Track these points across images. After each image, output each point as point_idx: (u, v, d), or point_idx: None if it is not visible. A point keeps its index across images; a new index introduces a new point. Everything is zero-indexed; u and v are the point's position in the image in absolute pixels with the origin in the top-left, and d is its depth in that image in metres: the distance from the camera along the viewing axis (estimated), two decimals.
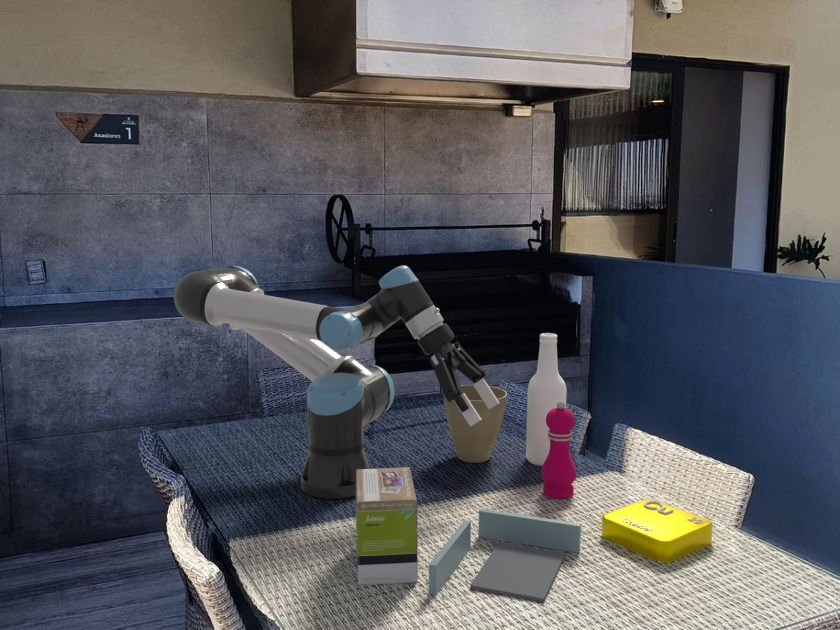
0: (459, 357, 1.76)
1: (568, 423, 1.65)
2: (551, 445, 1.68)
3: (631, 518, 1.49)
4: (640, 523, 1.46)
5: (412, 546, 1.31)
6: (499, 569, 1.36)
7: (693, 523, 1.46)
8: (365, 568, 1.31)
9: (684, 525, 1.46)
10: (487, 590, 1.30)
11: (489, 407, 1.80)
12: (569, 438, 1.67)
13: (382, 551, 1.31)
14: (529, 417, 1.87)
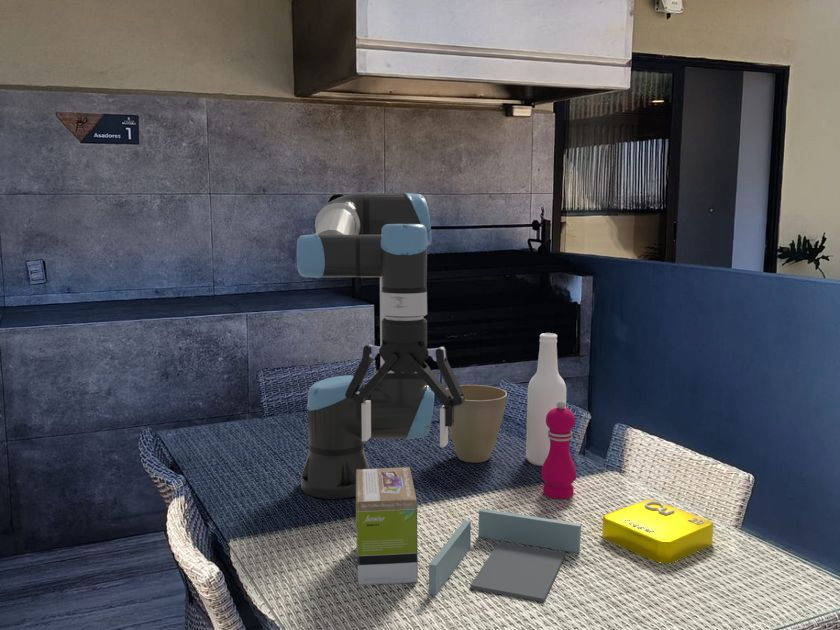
0: (413, 367, 1.34)
1: (568, 423, 1.65)
2: (551, 445, 1.68)
3: (632, 519, 1.48)
4: (641, 524, 1.46)
5: (412, 546, 1.31)
6: (499, 569, 1.36)
7: (694, 524, 1.46)
8: (365, 568, 1.31)
9: (684, 526, 1.45)
10: (487, 590, 1.30)
11: None
12: (569, 438, 1.67)
13: (382, 551, 1.31)
14: (529, 417, 1.87)
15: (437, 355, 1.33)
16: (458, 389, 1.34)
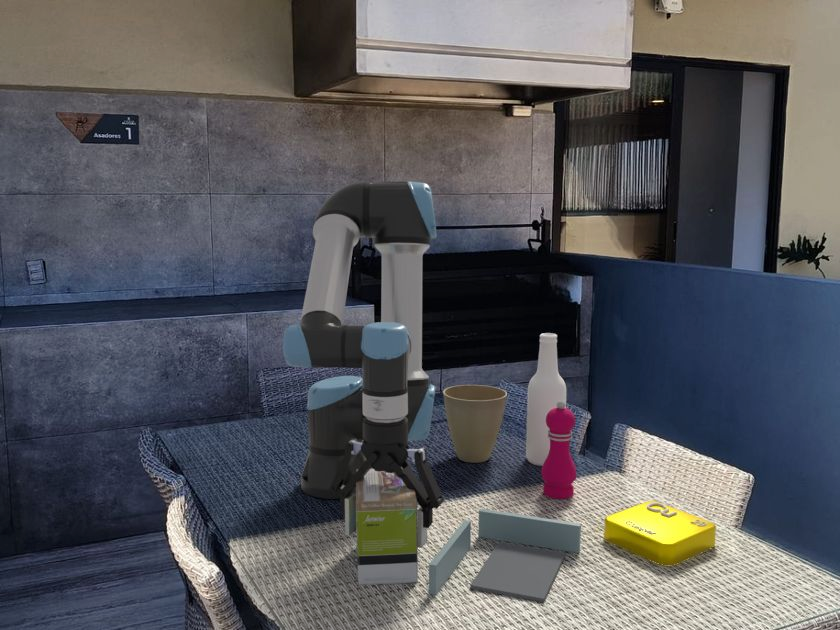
0: None
1: (568, 423, 1.65)
2: (551, 445, 1.68)
3: (634, 520, 1.48)
4: (643, 525, 1.45)
5: (412, 546, 1.31)
6: (499, 569, 1.36)
7: (696, 526, 1.45)
8: (365, 568, 1.31)
9: (687, 528, 1.44)
10: (487, 590, 1.30)
11: None
12: (569, 438, 1.67)
13: (382, 551, 1.31)
14: (529, 417, 1.87)
15: (416, 457, 1.33)
16: (436, 492, 1.33)
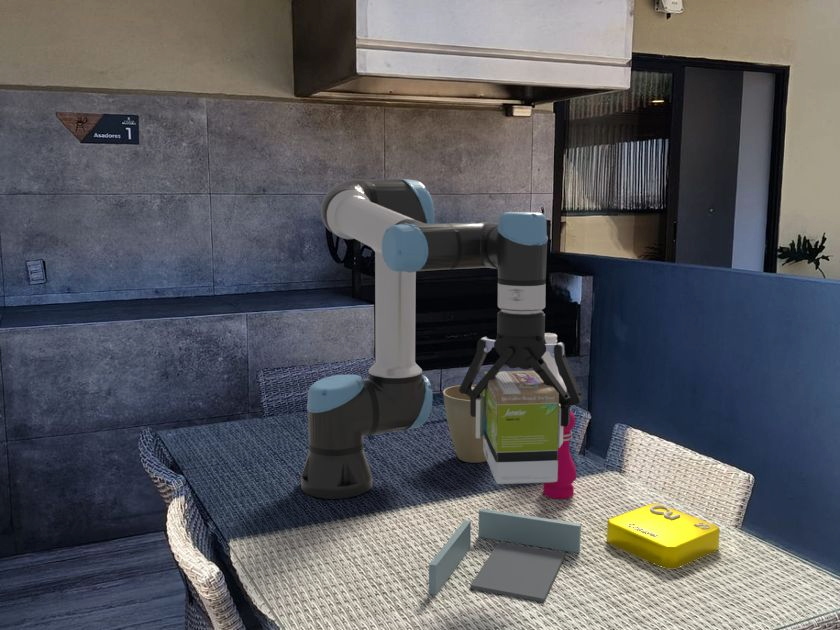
0: (529, 362, 1.29)
1: None
2: None
3: (637, 523, 1.46)
4: (646, 528, 1.44)
5: (553, 442, 1.25)
6: (499, 569, 1.36)
7: (700, 529, 1.44)
8: (504, 466, 1.25)
9: (690, 530, 1.43)
10: (487, 590, 1.30)
11: None
12: (569, 438, 1.67)
13: (521, 448, 1.25)
14: None
15: (555, 351, 1.27)
16: (576, 388, 1.28)
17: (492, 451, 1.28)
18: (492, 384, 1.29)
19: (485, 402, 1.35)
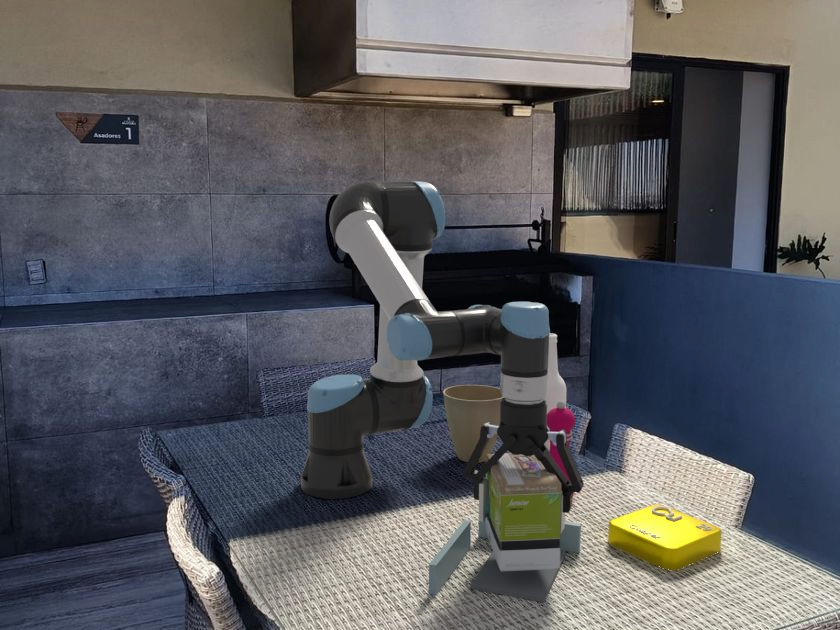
0: None
1: (568, 423, 1.65)
2: (551, 445, 1.68)
3: (638, 524, 1.46)
4: (647, 529, 1.44)
5: (555, 531, 1.28)
6: (499, 569, 1.36)
7: (702, 530, 1.43)
8: (507, 554, 1.28)
9: (692, 532, 1.43)
10: (487, 590, 1.30)
11: None
12: (569, 438, 1.67)
13: (525, 537, 1.27)
14: None
15: (557, 440, 1.30)
16: (577, 476, 1.30)
17: (495, 537, 1.31)
18: (495, 471, 1.32)
19: (488, 485, 1.37)
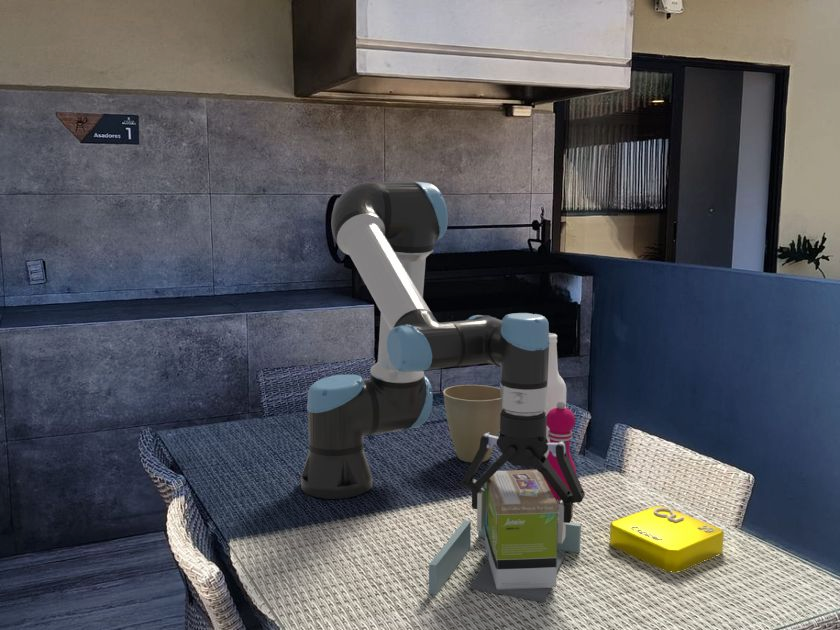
0: None
1: (568, 423, 1.65)
2: None
3: (640, 526, 1.45)
4: (649, 531, 1.43)
5: (552, 550, 1.28)
6: None
7: (703, 532, 1.43)
8: (504, 572, 1.29)
9: (694, 534, 1.42)
10: (487, 590, 1.30)
11: None
12: (569, 438, 1.67)
13: (521, 556, 1.28)
14: None
15: (557, 451, 1.30)
16: (578, 486, 1.30)
17: (493, 556, 1.31)
18: (493, 489, 1.32)
19: (486, 502, 1.38)
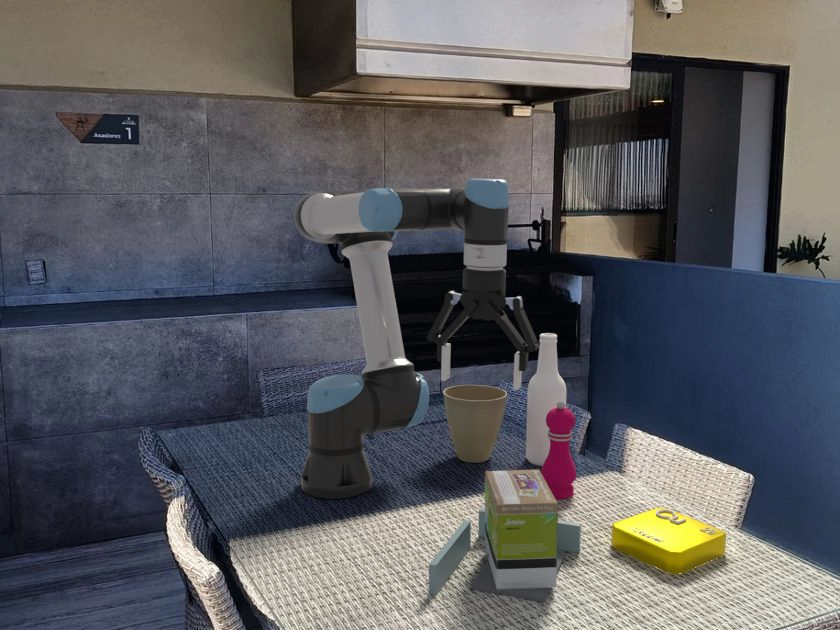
0: None
1: (568, 423, 1.65)
2: (551, 445, 1.68)
3: (642, 527, 1.45)
4: (651, 533, 1.42)
5: (552, 550, 1.28)
6: None
7: (706, 534, 1.42)
8: (504, 572, 1.29)
9: (696, 536, 1.41)
10: (487, 590, 1.30)
11: None
12: (569, 438, 1.67)
13: (521, 556, 1.28)
14: (529, 417, 1.87)
15: (514, 304, 1.42)
16: (532, 337, 1.43)
17: (493, 556, 1.31)
18: (493, 489, 1.32)
19: (486, 502, 1.38)
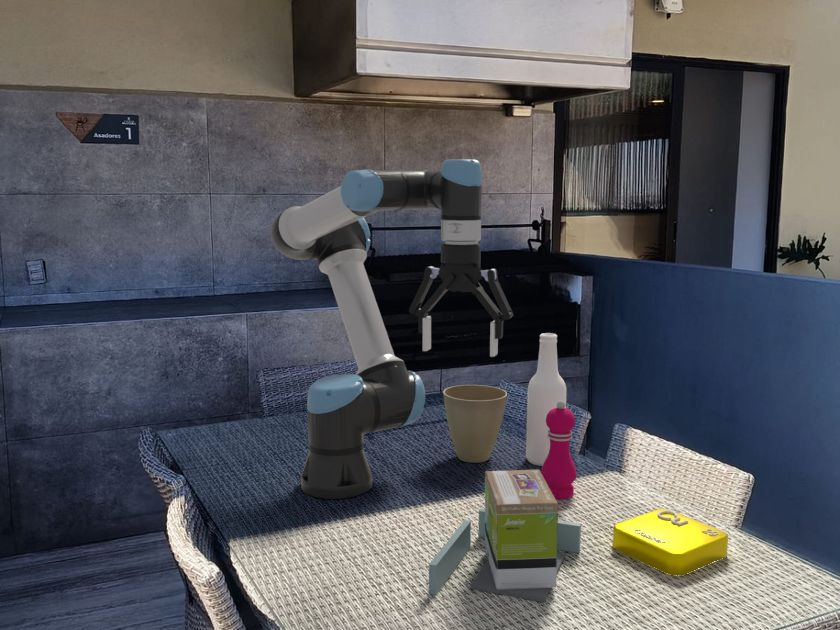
0: None
1: (568, 423, 1.65)
2: (551, 445, 1.68)
3: (643, 529, 1.44)
4: (652, 534, 1.42)
5: (552, 550, 1.28)
6: None
7: (708, 535, 1.41)
8: (504, 572, 1.29)
9: (698, 537, 1.41)
10: (487, 590, 1.30)
11: None
12: (569, 438, 1.67)
13: (521, 556, 1.28)
14: (529, 417, 1.87)
15: (488, 275, 1.52)
16: (507, 306, 1.52)
17: (493, 556, 1.31)
18: (493, 489, 1.32)
19: (486, 502, 1.38)
